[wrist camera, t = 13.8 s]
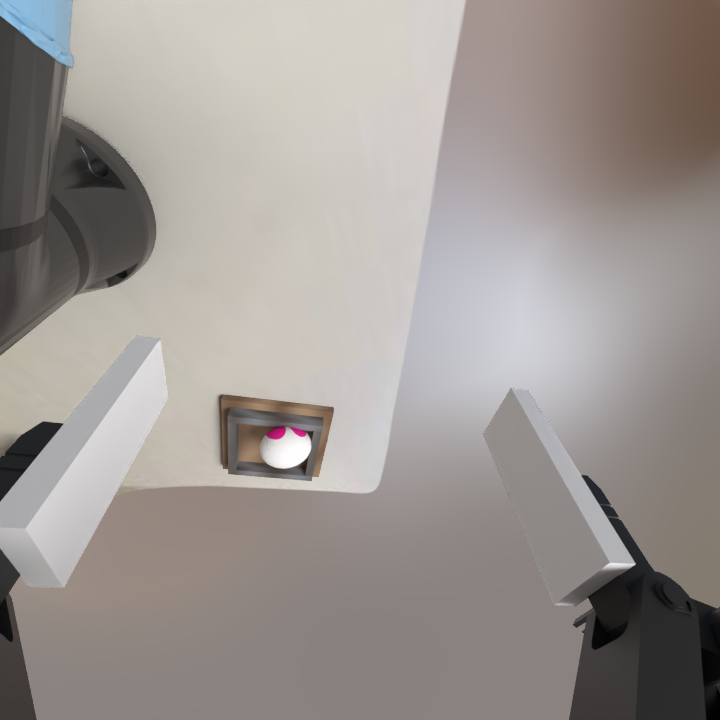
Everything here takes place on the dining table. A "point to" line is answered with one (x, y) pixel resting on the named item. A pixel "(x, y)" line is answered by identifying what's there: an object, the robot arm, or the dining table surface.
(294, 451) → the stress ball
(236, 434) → the cradle
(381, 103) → the dining table surface
